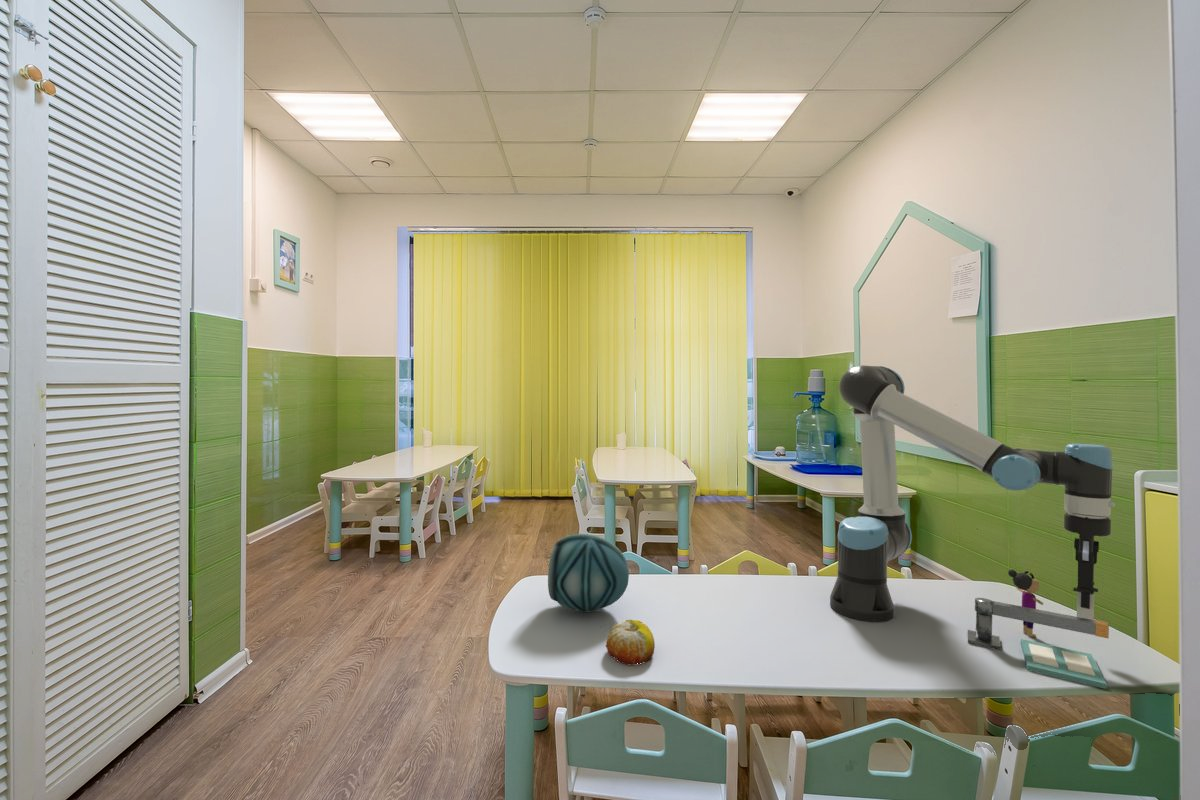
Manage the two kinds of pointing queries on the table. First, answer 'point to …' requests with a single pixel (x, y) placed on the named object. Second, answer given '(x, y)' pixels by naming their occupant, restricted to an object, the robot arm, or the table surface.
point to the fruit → (631, 642)
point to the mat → (1062, 663)
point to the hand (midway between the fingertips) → (1085, 620)
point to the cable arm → (1043, 617)
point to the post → (984, 633)
